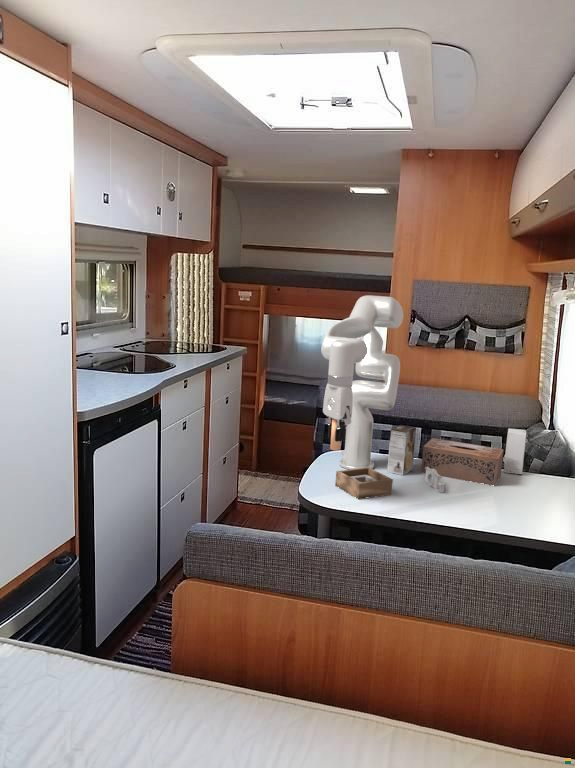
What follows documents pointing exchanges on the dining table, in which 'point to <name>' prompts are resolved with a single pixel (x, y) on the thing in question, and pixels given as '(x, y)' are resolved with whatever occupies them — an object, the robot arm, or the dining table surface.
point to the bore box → (363, 482)
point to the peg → (334, 444)
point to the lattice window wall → (434, 479)
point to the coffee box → (401, 449)
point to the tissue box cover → (463, 461)
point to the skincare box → (515, 451)
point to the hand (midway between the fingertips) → (336, 438)
